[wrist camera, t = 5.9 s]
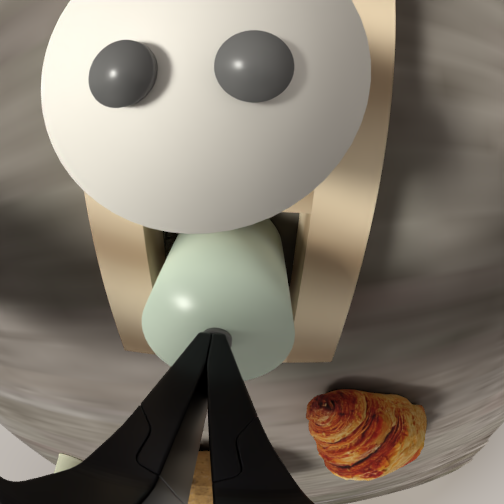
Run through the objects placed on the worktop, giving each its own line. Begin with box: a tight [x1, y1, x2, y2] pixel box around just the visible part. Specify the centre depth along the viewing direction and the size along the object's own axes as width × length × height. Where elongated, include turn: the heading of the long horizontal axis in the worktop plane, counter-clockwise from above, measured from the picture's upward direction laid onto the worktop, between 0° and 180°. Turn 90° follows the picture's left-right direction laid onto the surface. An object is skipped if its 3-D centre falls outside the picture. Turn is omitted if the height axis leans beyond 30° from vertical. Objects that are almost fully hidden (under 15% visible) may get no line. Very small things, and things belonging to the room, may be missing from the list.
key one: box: [142, 218, 295, 381], centre depth 12 cm, size 5×5×6 cm
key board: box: [84, 0, 395, 363], centre depth 9 cm, size 25×11×2 cm, turn 178°
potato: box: [188, 451, 213, 504], centre depth 24 cm, size 10×14×8 cm
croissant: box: [306, 389, 427, 481], centre depth 21 cm, size 21×10×8 cm
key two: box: [41, 0, 371, 234], centre depth 6 cm, size 5×5×6 cm
